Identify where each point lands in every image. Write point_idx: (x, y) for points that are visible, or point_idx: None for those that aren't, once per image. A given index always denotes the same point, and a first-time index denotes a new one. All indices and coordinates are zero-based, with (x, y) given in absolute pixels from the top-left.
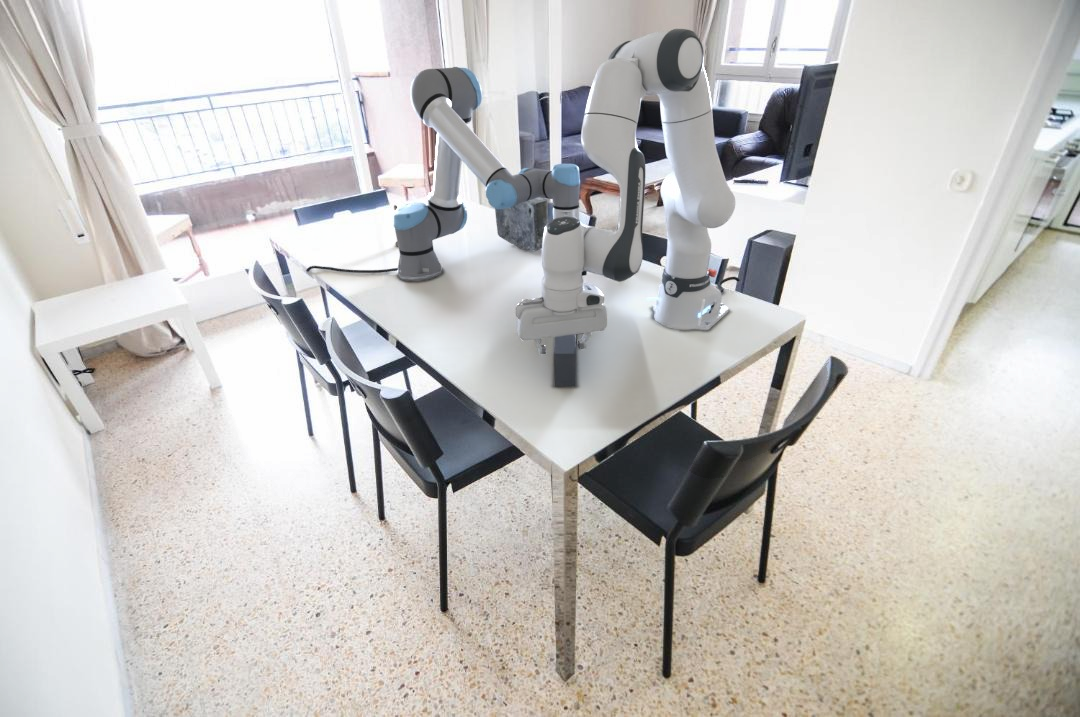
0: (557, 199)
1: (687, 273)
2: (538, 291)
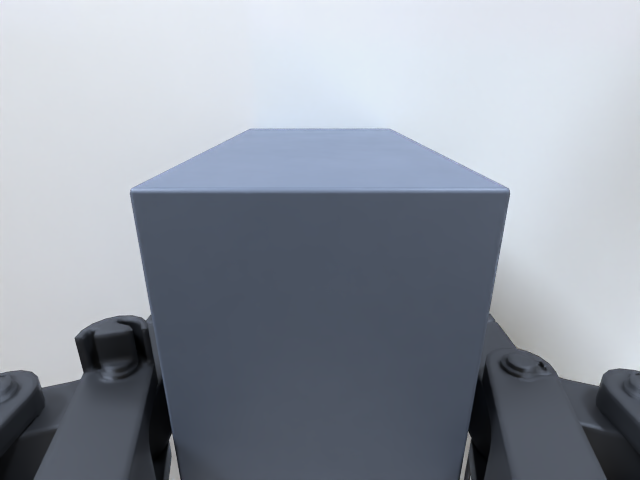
0: None
1: None
2: (50, 122)
